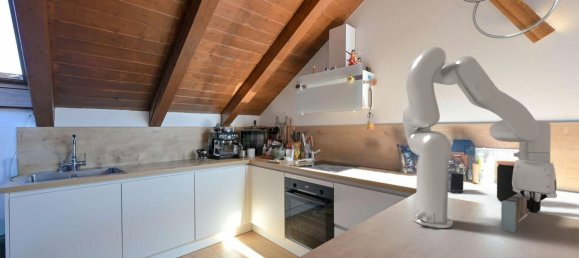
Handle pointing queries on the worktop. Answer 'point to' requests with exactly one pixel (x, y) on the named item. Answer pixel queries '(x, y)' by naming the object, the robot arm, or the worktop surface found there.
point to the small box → (455, 182)
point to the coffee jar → (505, 180)
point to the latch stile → (508, 216)
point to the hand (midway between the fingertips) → (533, 212)
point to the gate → (519, 205)
